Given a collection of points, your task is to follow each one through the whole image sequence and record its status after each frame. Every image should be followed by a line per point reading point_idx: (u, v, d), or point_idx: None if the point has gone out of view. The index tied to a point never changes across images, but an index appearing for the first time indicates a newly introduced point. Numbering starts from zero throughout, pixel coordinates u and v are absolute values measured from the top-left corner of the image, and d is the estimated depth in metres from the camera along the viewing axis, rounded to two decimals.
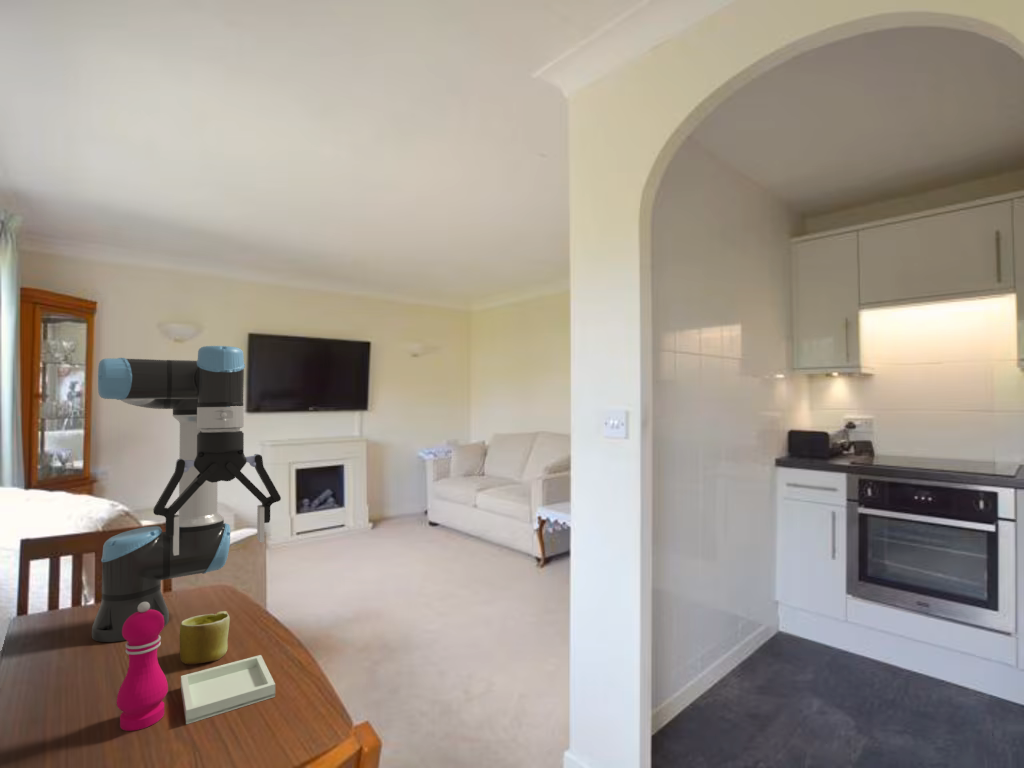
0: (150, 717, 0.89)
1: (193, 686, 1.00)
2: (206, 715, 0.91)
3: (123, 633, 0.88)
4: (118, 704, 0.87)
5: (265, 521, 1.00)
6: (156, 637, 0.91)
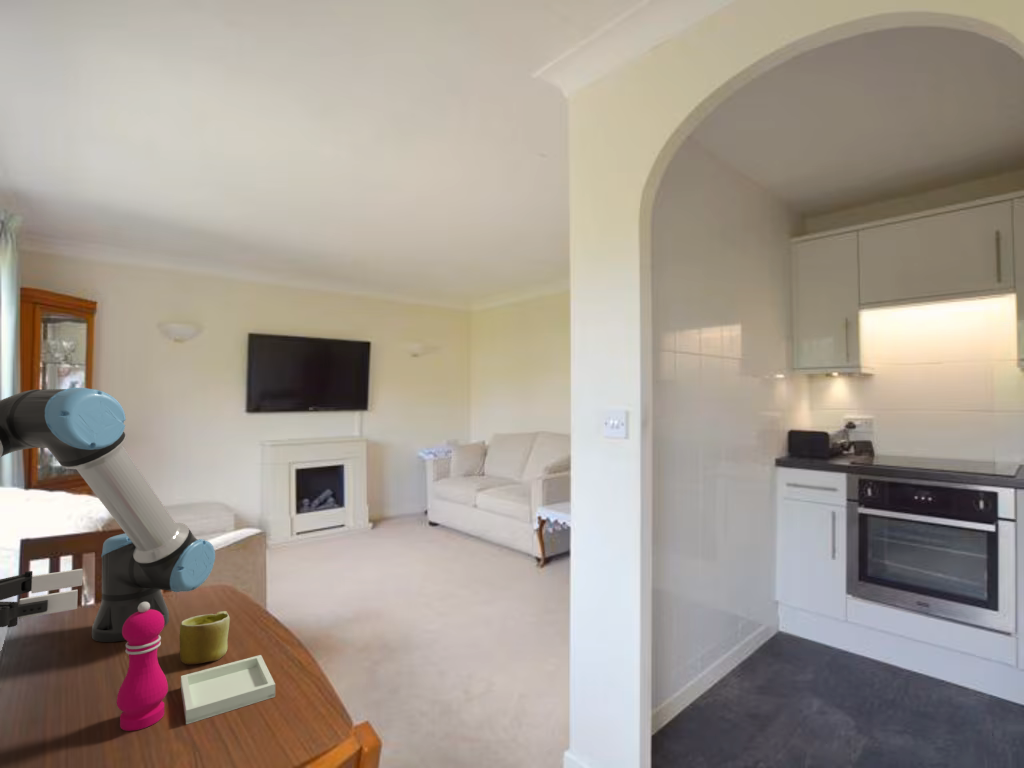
0: (150, 717, 0.89)
1: (193, 686, 1.00)
2: (206, 715, 0.91)
3: (123, 633, 0.88)
4: (118, 704, 0.87)
5: None
6: (156, 637, 0.91)
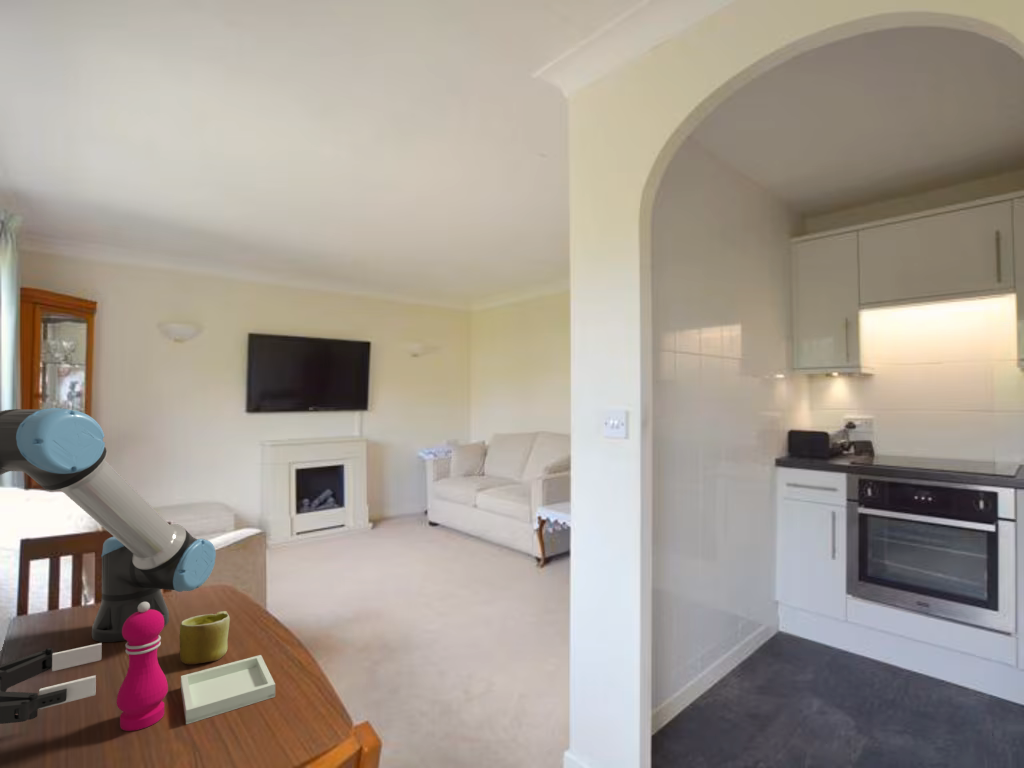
0: (150, 717, 0.89)
1: (193, 686, 1.00)
2: (206, 715, 0.91)
3: (123, 633, 0.88)
4: (118, 704, 0.87)
5: None
6: (156, 637, 0.91)
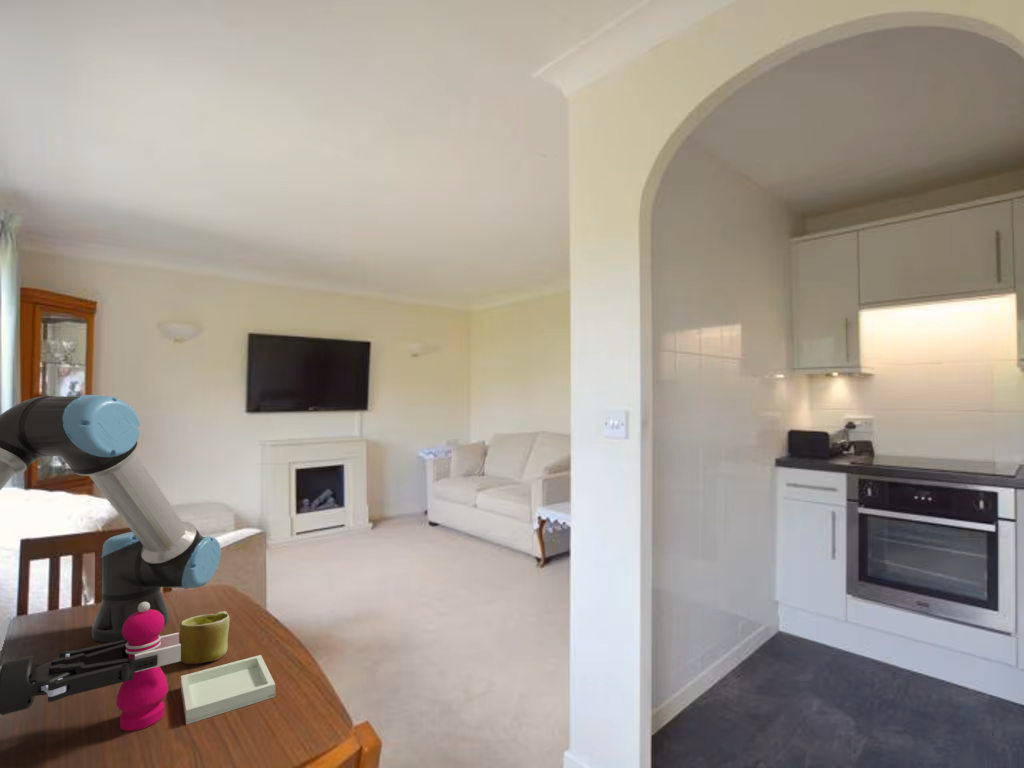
0: (150, 717, 0.89)
1: (193, 686, 1.00)
2: (206, 715, 0.91)
3: (123, 633, 0.88)
4: (118, 704, 0.87)
5: None
6: (156, 637, 0.91)
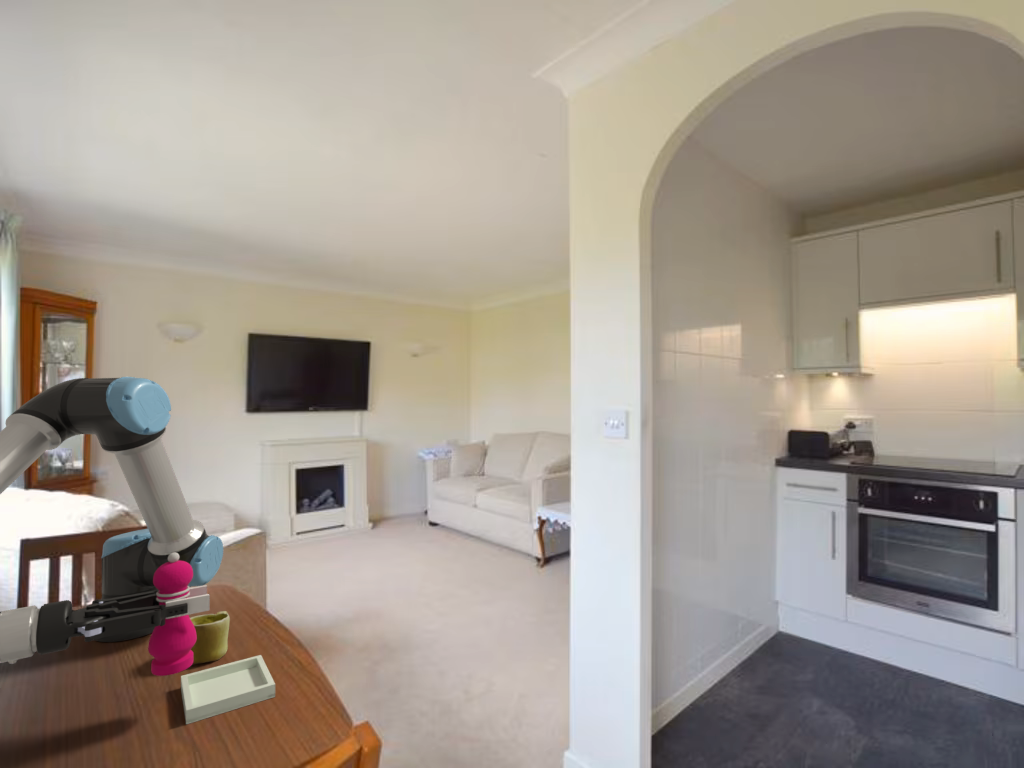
0: (180, 663, 0.91)
1: (193, 686, 1.00)
2: (206, 715, 0.91)
3: (154, 581, 0.91)
4: (150, 650, 0.90)
5: None
6: (185, 587, 0.93)
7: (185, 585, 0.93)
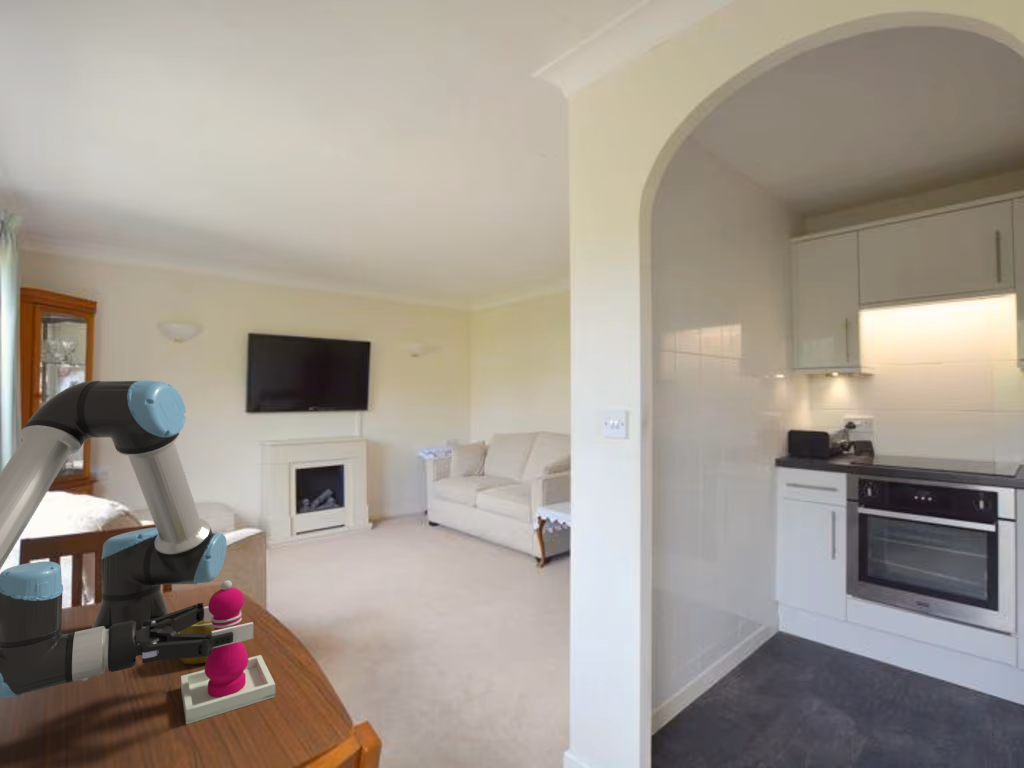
0: (235, 685, 0.97)
1: (193, 686, 1.00)
2: (206, 715, 0.91)
3: (210, 608, 0.97)
4: (207, 673, 0.96)
5: None
6: (238, 612, 1.00)
7: (238, 611, 0.99)
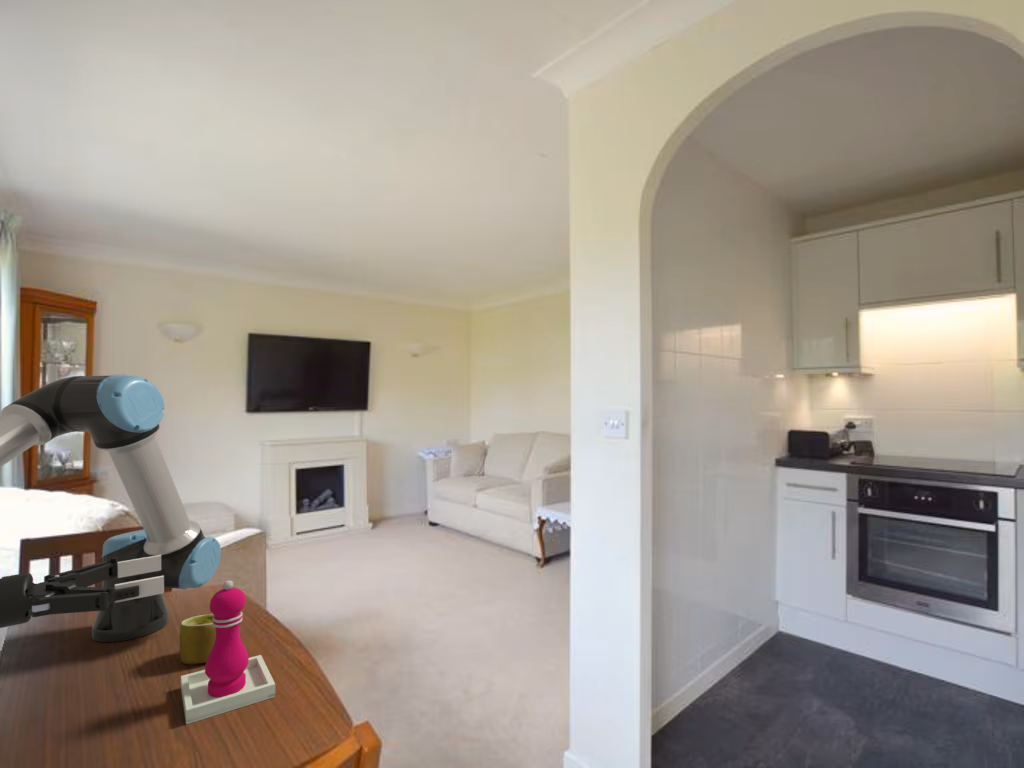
0: (235, 685, 0.97)
1: (193, 686, 1.00)
2: (206, 715, 0.91)
3: (211, 608, 0.97)
4: (207, 673, 0.96)
5: None
6: (239, 612, 1.00)
7: (239, 611, 0.99)
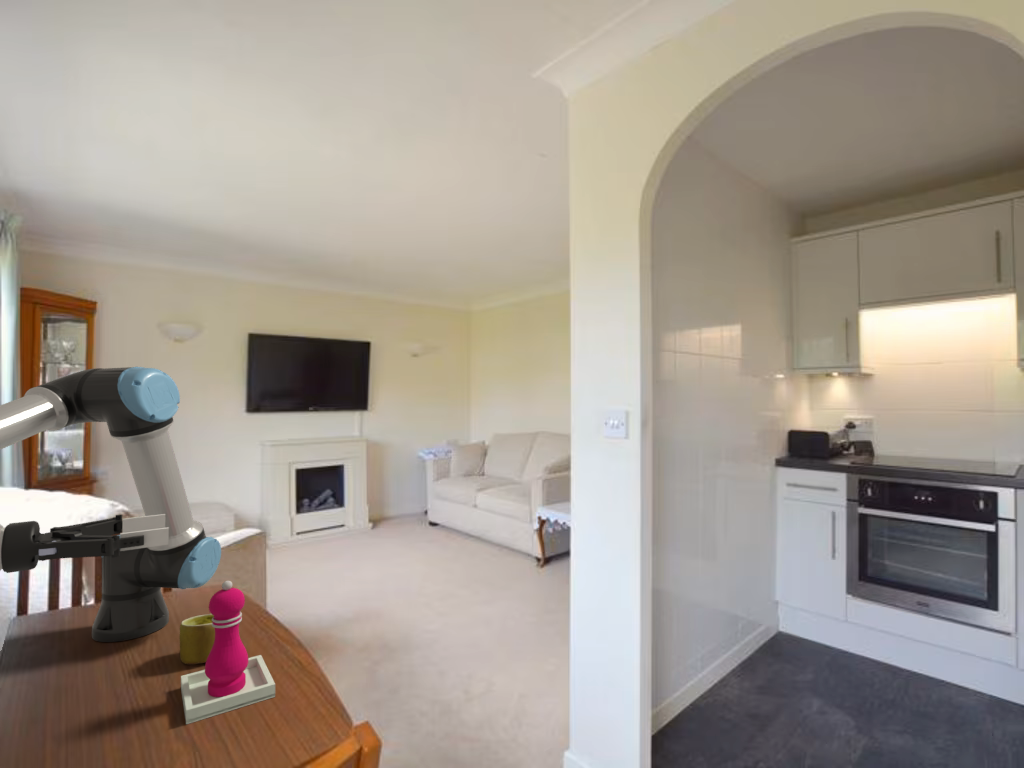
0: (235, 685, 0.97)
1: (193, 686, 1.00)
2: (206, 715, 0.91)
3: (210, 608, 0.97)
4: (207, 673, 0.96)
5: None
6: (238, 613, 1.00)
7: (238, 611, 0.99)
